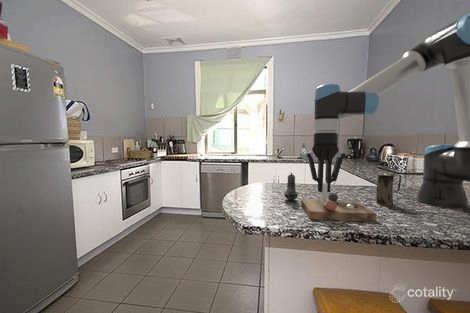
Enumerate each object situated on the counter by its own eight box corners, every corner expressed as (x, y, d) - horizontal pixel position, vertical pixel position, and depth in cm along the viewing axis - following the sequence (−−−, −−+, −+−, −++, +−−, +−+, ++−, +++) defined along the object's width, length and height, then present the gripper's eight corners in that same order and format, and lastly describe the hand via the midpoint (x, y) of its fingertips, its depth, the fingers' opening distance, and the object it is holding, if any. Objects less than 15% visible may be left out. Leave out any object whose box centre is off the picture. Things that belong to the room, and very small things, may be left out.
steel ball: (353, 210, 78) (351, 202, 78) (357, 213, 75) (355, 204, 75) (344, 212, 79) (342, 204, 78) (348, 216, 75) (345, 206, 75)
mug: (379, 205, 86) (381, 174, 85) (373, 201, 91) (374, 172, 90) (402, 206, 84) (404, 175, 83) (395, 202, 90) (396, 173, 89)
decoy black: (335, 200, 84) (336, 192, 84) (339, 202, 81) (339, 194, 81) (327, 200, 84) (327, 191, 84) (329, 202, 81) (330, 193, 81)
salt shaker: (299, 204, 88) (299, 173, 87) (283, 203, 89) (284, 173, 88) (297, 200, 94) (298, 171, 93) (283, 199, 95) (283, 171, 94)
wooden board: (356, 207, 83) (356, 201, 83) (376, 221, 69) (376, 213, 69) (301, 206, 85) (301, 199, 85) (309, 219, 71) (309, 211, 71)
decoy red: (334, 209, 73) (335, 199, 73) (338, 212, 70) (338, 202, 70) (324, 208, 74) (324, 199, 74) (327, 212, 71) (327, 202, 70)
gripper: (341, 132, 79) (339, 198, 81) (303, 132, 80) (302, 197, 82) (350, 132, 71) (347, 205, 73) (308, 132, 73) (306, 203, 74)
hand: (323, 201), depth 78 cm, fingers closed
